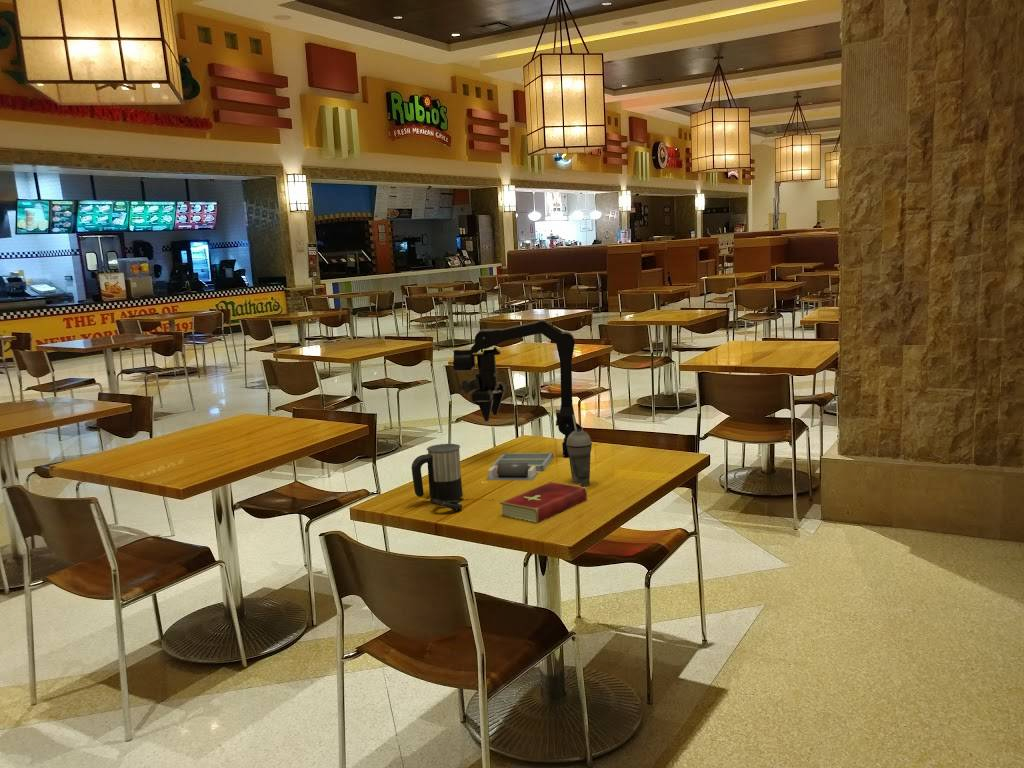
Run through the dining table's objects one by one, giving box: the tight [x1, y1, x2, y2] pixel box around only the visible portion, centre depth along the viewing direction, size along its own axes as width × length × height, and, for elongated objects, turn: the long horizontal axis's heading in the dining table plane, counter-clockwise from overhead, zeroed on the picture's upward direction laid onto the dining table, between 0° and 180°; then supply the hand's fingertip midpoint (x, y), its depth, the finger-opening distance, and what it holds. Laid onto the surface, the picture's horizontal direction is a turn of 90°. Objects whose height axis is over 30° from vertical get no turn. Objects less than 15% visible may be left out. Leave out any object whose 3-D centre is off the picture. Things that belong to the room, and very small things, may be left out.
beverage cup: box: [566, 415, 593, 487], centre depth 231 cm, size 7×7×20 cm
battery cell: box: [496, 463, 529, 477], centre depth 242 cm, size 9×4×4 cm, turn 76°
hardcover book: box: [499, 481, 588, 524], centre depth 214 cm, size 12×21×4 cm, turn 140°
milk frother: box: [411, 443, 464, 511], centre depth 222 cm, size 14×16×15 cm
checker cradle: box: [485, 466, 539, 481], centre depth 242 cm, size 14×8×3 cm, turn 76°
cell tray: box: [490, 452, 554, 472], centre depth 255 cm, size 16×15×2 cm
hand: (490, 417), depth 264 cm, fingers open, 9 cm apart
